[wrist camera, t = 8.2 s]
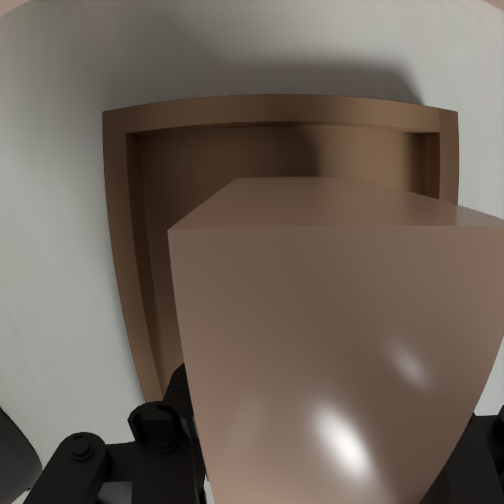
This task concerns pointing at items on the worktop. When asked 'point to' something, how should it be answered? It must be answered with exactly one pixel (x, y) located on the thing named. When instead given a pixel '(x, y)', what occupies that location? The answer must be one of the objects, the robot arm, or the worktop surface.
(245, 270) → the tan rectangular block
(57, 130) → the worktop surface
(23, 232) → the worktop surface
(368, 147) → the tray
